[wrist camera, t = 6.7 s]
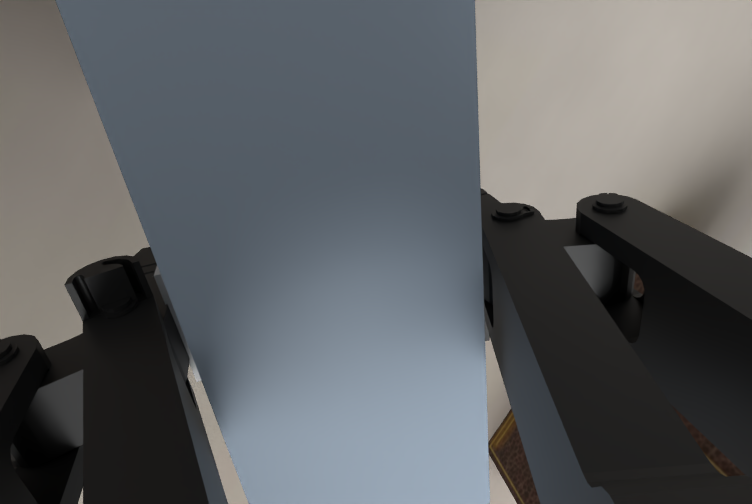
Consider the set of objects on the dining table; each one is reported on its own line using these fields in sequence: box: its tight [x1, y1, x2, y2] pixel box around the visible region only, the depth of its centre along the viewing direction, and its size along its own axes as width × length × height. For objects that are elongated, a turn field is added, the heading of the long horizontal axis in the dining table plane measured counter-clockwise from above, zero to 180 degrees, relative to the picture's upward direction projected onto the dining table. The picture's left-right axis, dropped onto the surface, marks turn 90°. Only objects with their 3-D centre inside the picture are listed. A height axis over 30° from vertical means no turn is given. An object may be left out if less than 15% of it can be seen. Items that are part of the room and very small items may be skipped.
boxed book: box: [55, 0, 490, 504], centre depth 13 cm, size 5×14×9 cm, turn 7°
